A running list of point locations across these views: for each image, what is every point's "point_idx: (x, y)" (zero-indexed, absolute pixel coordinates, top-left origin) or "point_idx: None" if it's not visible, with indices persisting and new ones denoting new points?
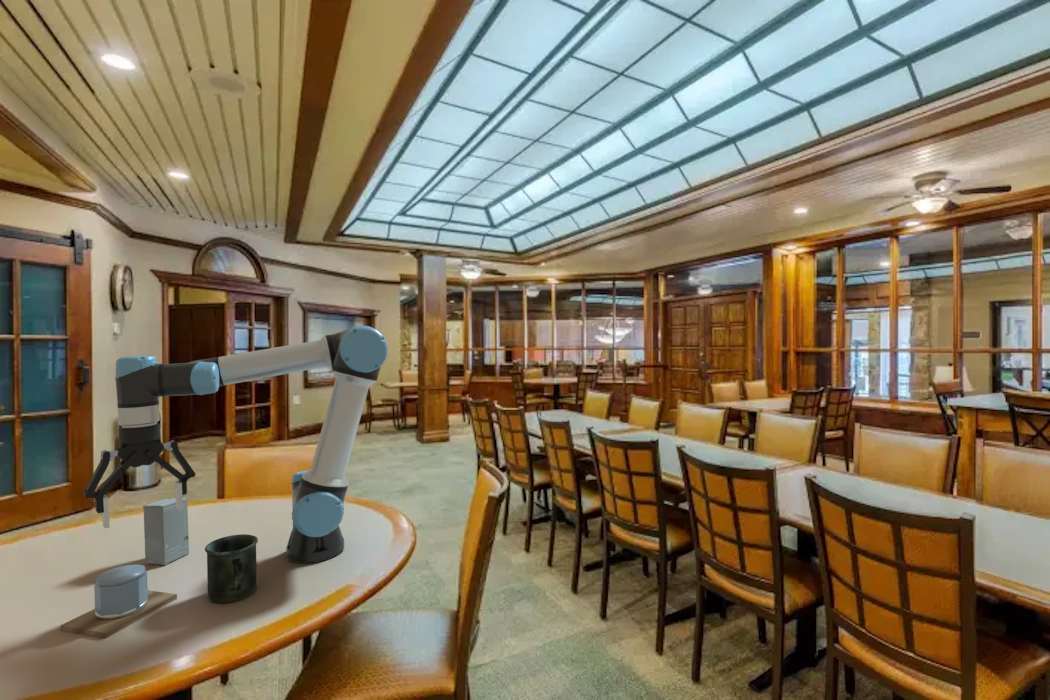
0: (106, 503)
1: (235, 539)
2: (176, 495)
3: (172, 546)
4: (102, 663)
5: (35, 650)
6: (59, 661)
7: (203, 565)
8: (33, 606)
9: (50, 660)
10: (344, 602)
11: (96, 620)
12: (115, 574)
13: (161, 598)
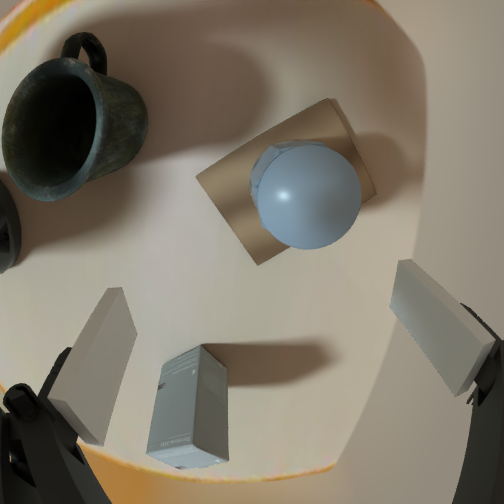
0: (469, 324)
1: (38, 183)
2: (113, 368)
3: (184, 372)
4: (334, 22)
5: (403, 147)
6: (382, 79)
7: (140, 302)
8: (377, 312)
9: (390, 94)
10: (18, 9)
11: None
12: (324, 200)
13: (223, 177)
